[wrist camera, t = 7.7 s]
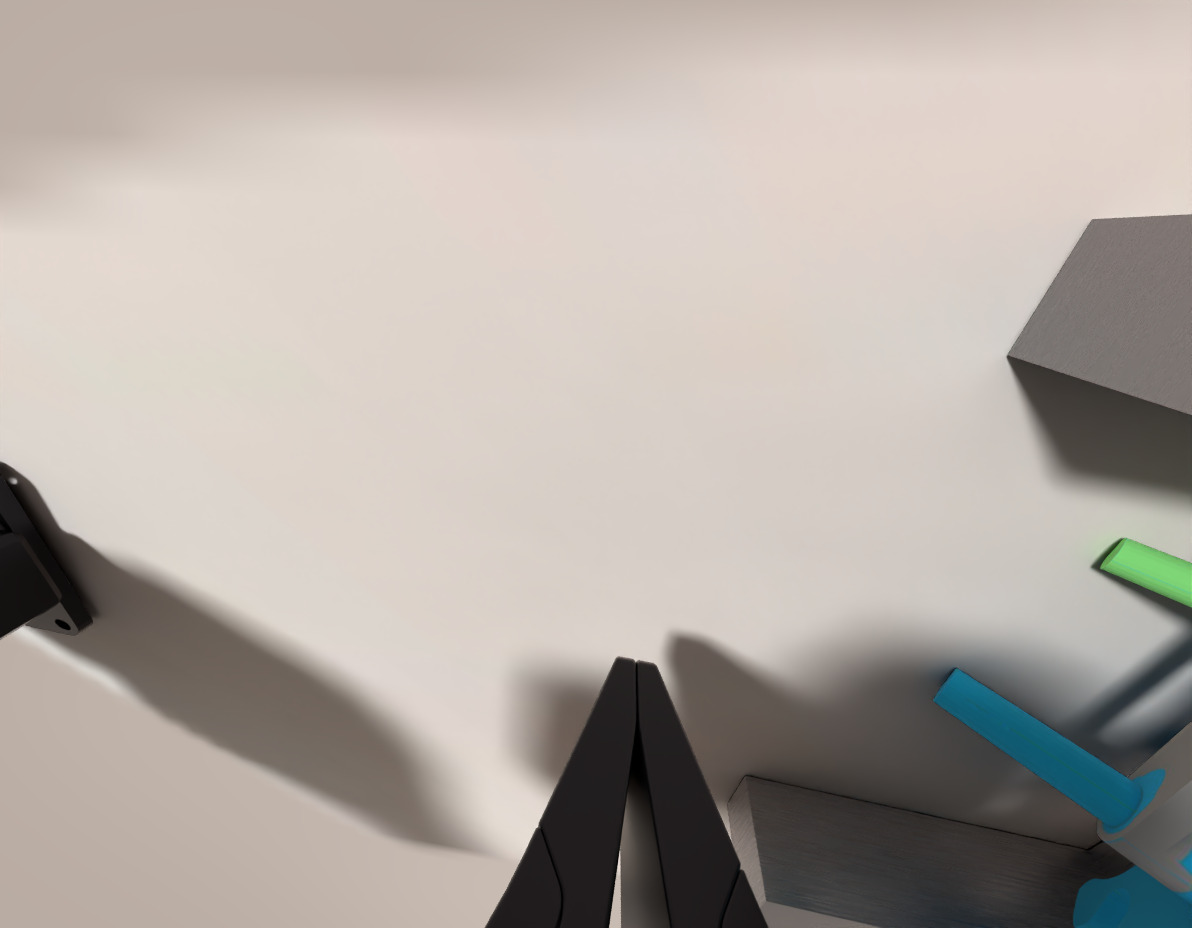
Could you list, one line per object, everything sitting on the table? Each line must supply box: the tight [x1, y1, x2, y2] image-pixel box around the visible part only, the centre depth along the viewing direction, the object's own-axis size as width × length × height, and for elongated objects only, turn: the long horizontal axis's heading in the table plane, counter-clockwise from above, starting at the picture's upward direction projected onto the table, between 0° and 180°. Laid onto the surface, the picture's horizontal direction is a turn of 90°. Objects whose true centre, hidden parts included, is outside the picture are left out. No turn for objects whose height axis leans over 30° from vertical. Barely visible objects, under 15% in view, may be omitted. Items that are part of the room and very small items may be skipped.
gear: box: [933, 538, 1192, 928], centre depth 8 cm, size 11×6×10 cm
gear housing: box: [727, 214, 1192, 928], centre depth 9 cm, size 13×18×3 cm
